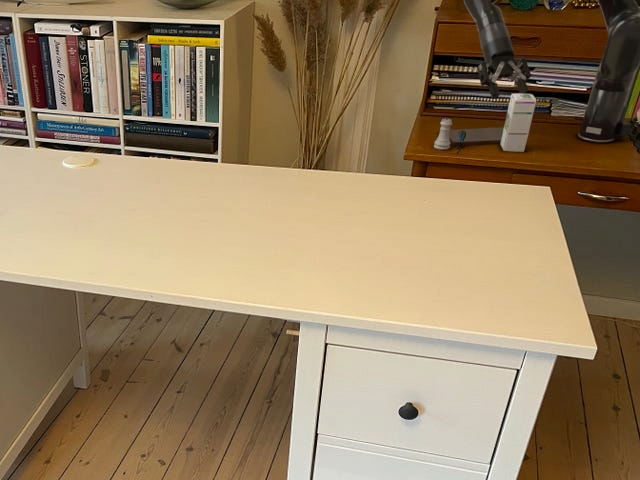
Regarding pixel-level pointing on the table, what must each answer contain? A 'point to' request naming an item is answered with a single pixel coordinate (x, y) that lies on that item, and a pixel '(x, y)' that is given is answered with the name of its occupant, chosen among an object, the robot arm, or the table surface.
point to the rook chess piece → (443, 135)
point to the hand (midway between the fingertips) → (510, 95)
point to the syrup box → (518, 122)
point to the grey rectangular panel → (477, 136)
